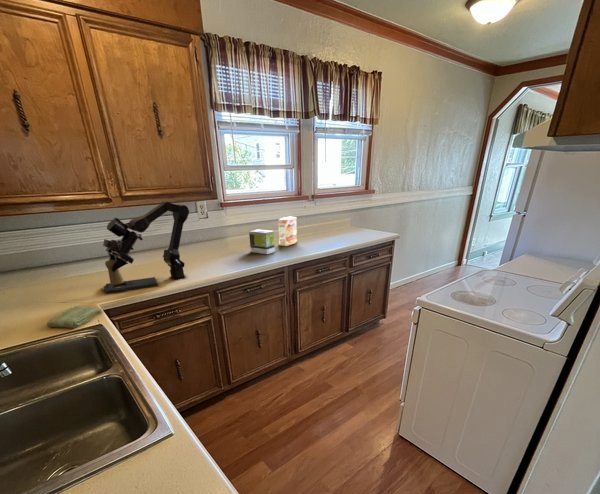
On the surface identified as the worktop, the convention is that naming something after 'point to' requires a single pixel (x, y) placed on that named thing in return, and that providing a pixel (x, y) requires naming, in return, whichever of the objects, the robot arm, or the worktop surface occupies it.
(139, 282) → the socket pad
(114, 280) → the cork
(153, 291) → the worktop surface
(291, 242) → the coffeecake box
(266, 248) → the tea box
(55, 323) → the washcloth
